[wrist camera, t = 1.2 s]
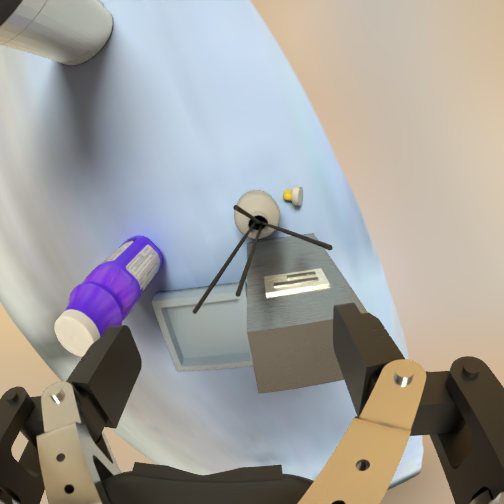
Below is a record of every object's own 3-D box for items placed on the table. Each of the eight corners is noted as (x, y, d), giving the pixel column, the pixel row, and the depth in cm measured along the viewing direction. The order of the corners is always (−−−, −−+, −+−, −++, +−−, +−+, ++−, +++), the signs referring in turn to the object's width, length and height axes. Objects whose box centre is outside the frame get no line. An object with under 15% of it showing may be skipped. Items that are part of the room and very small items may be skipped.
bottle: (138, 290, 37) (82, 377, 21) (109, 260, 36) (36, 334, 19) (172, 256, 36) (121, 341, 19) (141, 224, 34) (66, 288, 18)
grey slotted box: (246, 240, 35) (245, 328, 18) (312, 230, 35) (367, 308, 18) (255, 293, 38) (260, 400, 21) (316, 284, 37) (360, 383, 20)
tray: (156, 292, 37) (151, 301, 35) (245, 281, 37) (245, 290, 35) (179, 360, 42) (176, 371, 39) (258, 353, 41) (258, 365, 39)
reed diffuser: (232, 243, 35) (216, 352, 16) (204, 193, 33) (148, 255, 14) (309, 205, 34) (379, 278, 15) (283, 152, 32) (334, 160, 13)
